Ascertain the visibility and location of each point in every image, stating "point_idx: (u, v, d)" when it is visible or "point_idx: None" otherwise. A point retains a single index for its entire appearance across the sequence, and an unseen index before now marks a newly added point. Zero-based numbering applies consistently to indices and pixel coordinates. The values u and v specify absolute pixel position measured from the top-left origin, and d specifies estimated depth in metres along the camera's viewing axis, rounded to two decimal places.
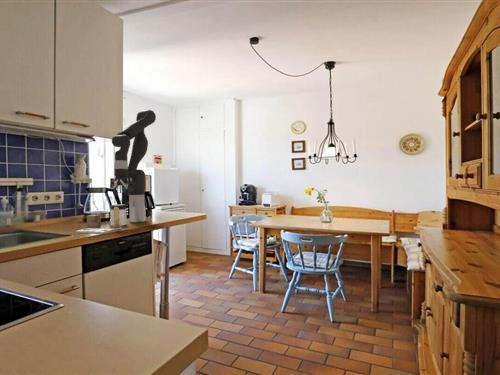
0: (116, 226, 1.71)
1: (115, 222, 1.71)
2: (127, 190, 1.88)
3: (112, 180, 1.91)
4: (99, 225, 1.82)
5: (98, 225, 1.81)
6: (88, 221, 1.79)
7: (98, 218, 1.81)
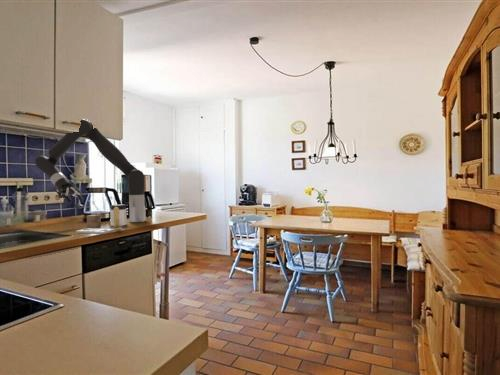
0: (116, 226, 1.71)
1: (115, 222, 1.71)
2: (66, 199, 1.80)
3: None
4: (99, 225, 1.82)
5: (98, 225, 1.81)
6: (88, 221, 1.79)
7: (98, 218, 1.81)
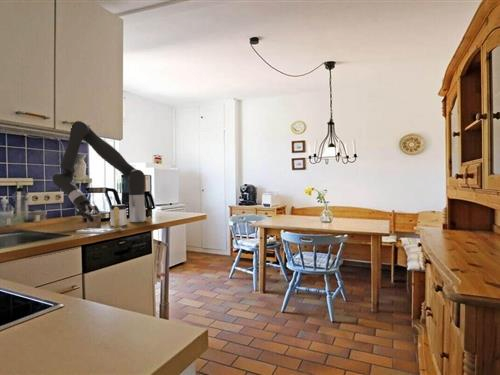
0: (116, 226, 1.71)
1: (115, 222, 1.71)
2: None
3: None
4: (99, 225, 1.82)
5: (98, 225, 1.81)
6: (88, 221, 1.79)
7: (98, 217, 1.81)
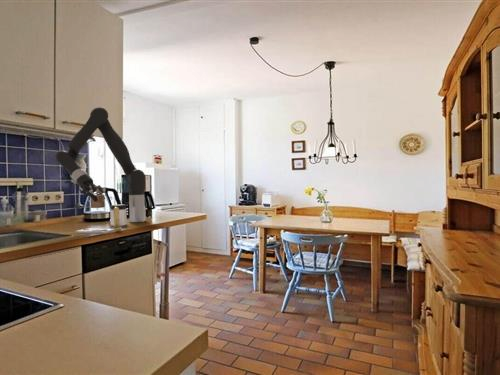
0: (116, 226, 1.71)
1: (115, 222, 1.71)
2: (91, 197, 1.72)
3: None
4: (103, 205, 1.76)
5: (102, 205, 1.75)
6: (92, 201, 1.73)
7: (102, 197, 1.75)
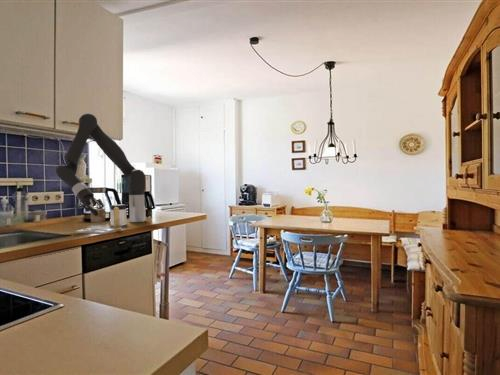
0: (116, 226, 1.71)
1: (115, 222, 1.71)
2: (92, 211, 1.72)
3: None
4: (103, 219, 1.76)
5: (102, 219, 1.75)
6: (92, 215, 1.73)
7: (102, 211, 1.75)
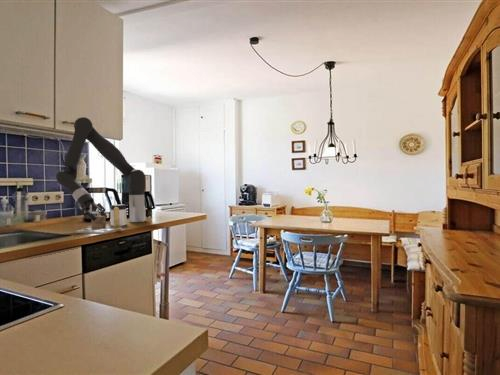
0: (116, 226, 1.71)
1: (115, 222, 1.71)
2: (89, 216, 1.71)
3: (97, 207, 1.82)
4: (104, 226, 1.76)
5: (103, 226, 1.76)
6: (93, 222, 1.74)
7: (103, 219, 1.76)
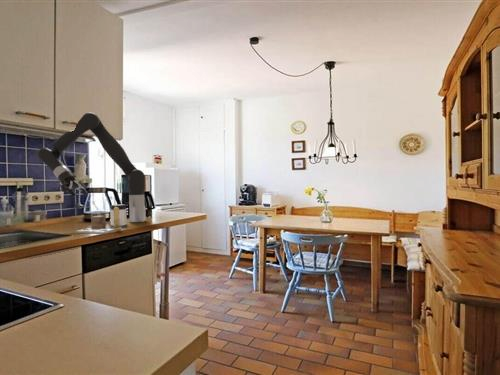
0: (116, 226, 1.71)
1: (115, 222, 1.71)
2: (69, 192, 1.74)
3: (78, 184, 1.86)
4: (104, 226, 1.76)
5: (103, 226, 1.76)
6: (93, 222, 1.74)
7: (103, 219, 1.76)
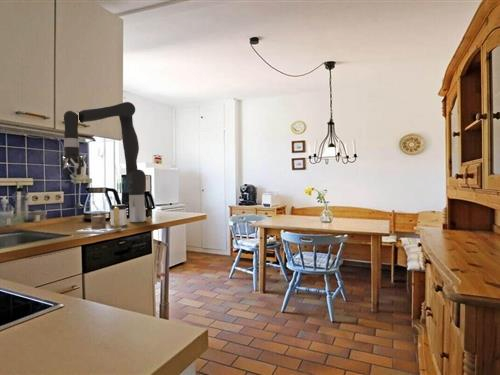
0: (116, 226, 1.71)
1: (115, 222, 1.71)
2: (78, 169, 1.80)
3: (63, 159, 1.83)
4: (104, 226, 1.76)
5: (103, 226, 1.76)
6: (93, 222, 1.74)
7: (103, 219, 1.76)
